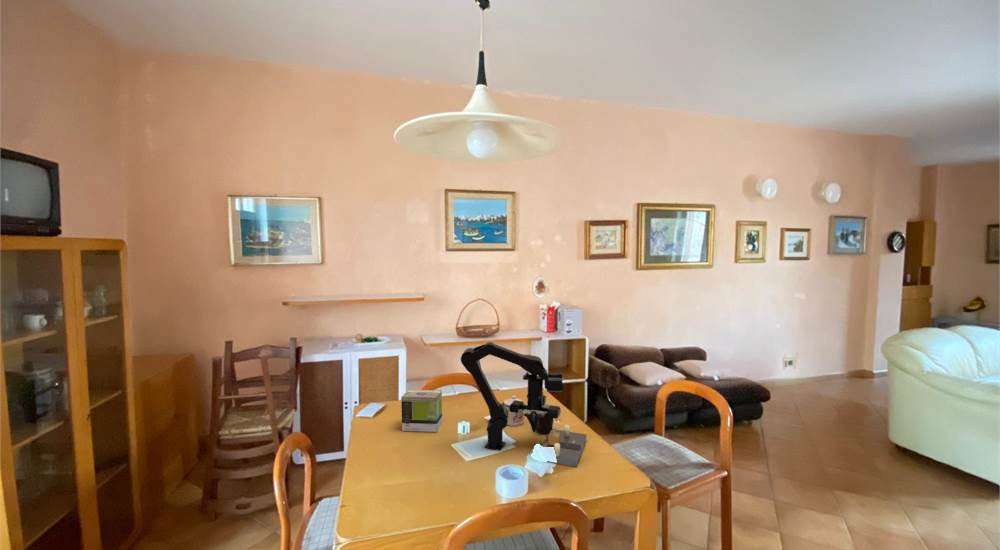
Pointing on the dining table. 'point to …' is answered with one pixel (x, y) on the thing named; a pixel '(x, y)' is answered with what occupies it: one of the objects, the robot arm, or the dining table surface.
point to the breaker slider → (554, 438)
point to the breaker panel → (568, 447)
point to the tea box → (421, 410)
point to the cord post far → (566, 430)
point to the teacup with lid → (514, 418)
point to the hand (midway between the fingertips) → (534, 431)
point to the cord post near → (557, 449)
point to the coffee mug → (545, 423)
